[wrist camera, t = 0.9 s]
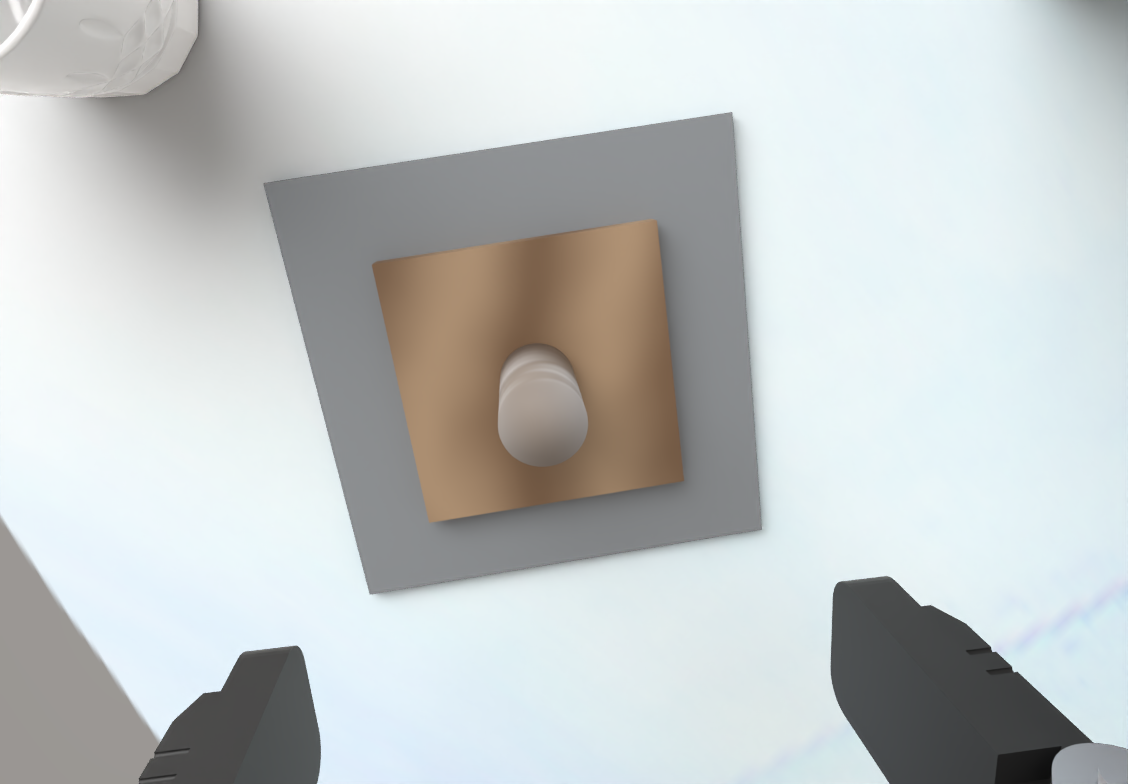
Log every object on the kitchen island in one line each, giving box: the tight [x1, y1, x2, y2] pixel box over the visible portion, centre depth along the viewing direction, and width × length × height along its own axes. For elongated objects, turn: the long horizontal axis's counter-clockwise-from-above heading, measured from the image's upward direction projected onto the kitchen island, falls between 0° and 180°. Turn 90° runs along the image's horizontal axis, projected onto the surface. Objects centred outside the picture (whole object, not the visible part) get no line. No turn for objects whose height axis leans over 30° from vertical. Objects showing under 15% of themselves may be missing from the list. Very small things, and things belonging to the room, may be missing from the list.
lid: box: [372, 219, 684, 523], centre depth 27 cm, size 11×11×6 cm
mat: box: [264, 112, 762, 594], centre depth 31 cm, size 18×18×1 cm
